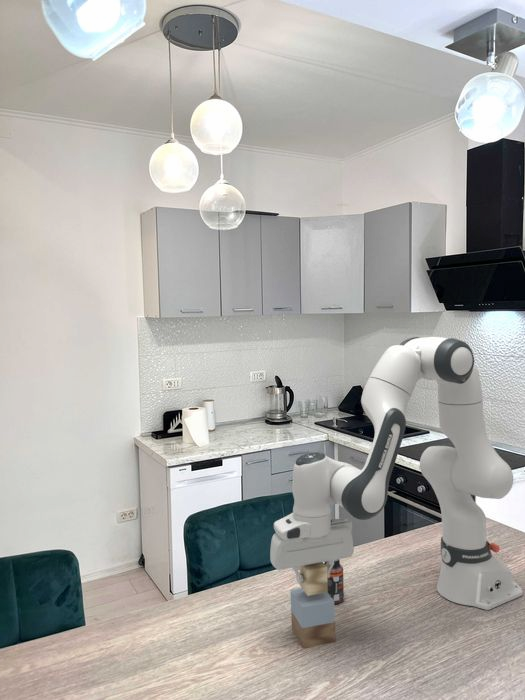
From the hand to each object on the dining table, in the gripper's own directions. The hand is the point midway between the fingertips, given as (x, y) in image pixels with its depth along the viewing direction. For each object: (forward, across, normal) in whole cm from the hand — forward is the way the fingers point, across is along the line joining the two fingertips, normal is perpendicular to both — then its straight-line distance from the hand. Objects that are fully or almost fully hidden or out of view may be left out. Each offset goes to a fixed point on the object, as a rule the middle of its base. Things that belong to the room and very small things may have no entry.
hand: (313, 579), depth 122 cm
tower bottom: (+14, 0, 0) cm, 14 cm away
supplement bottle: (+14, -11, -13) cm, 22 cm away
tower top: (+9, 0, 0) cm, 9 cm away
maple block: (+2, 0, 0) cm, 2 cm away
